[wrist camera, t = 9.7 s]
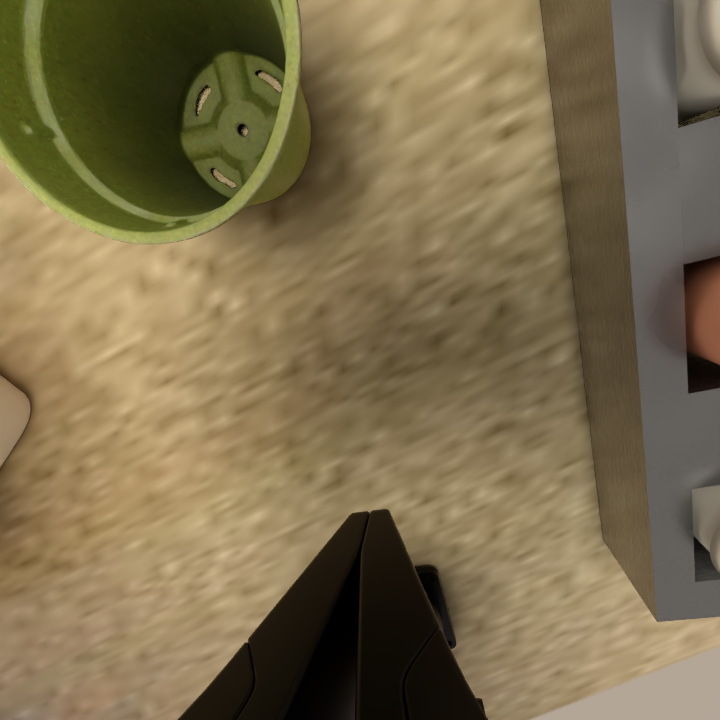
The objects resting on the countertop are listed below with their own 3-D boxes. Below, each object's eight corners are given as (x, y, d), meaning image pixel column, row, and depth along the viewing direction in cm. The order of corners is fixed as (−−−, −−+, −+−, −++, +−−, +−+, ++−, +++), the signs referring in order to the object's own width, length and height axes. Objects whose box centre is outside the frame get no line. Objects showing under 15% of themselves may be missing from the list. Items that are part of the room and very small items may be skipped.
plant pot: (390, 91, 17) (375, -54, 8) (287, 277, 20) (202, 306, 11) (201, -42, 16) (-17, -341, 8) (125, 172, 19) (-92, 122, 11)
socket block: (762, 519, 21) (868, 603, 16) (603, 539, 22) (657, 621, 17) (776, -108, 13) (979, -298, 9) (538, -17, 15) (600, -136, 10)
